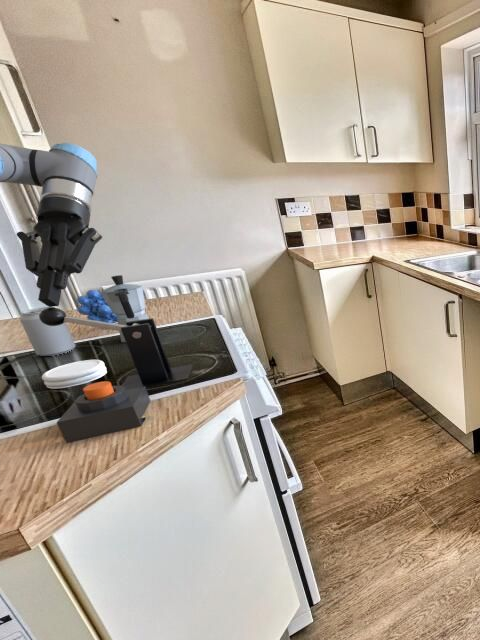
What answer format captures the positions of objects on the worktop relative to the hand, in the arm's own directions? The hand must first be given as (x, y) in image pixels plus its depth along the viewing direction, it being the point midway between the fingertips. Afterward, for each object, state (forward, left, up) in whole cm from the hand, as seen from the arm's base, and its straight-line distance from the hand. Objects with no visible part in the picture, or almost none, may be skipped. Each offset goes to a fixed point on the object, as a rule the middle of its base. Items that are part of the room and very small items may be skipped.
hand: (48, 302), depth 81 cm
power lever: (+5, 0, -7) cm, 8 cm away
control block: (+8, -17, -20) cm, 28 cm away
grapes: (-10, +58, -20) cm, 62 cm away
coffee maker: (+1, +39, -20) cm, 44 cm away
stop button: (+8, -17, -14) cm, 24 cm away
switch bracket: (+12, 0, -20) cm, 23 cm away
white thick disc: (-4, +10, -20) cm, 23 cm away
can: (-16, +38, -20) cm, 46 cm away
